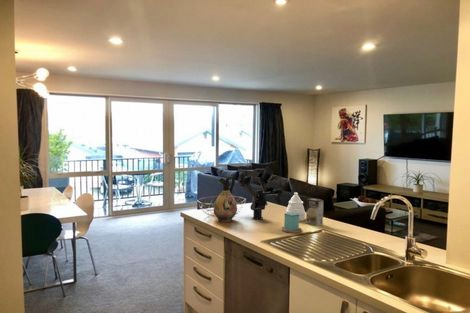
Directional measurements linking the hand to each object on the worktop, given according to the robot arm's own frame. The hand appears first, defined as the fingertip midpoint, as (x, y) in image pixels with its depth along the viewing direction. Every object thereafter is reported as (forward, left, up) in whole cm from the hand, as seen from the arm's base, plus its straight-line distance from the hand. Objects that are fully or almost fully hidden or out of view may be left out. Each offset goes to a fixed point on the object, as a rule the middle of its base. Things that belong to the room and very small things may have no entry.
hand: (273, 204), depth 216 cm
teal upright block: (+8, +12, -12) cm, 19 cm away
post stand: (+8, +12, -13) cm, 20 cm away
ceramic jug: (-5, -32, -14) cm, 35 cm away
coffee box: (-12, +25, -14) cm, 31 cm away
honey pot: (-24, +12, -14) cm, 30 cm away
